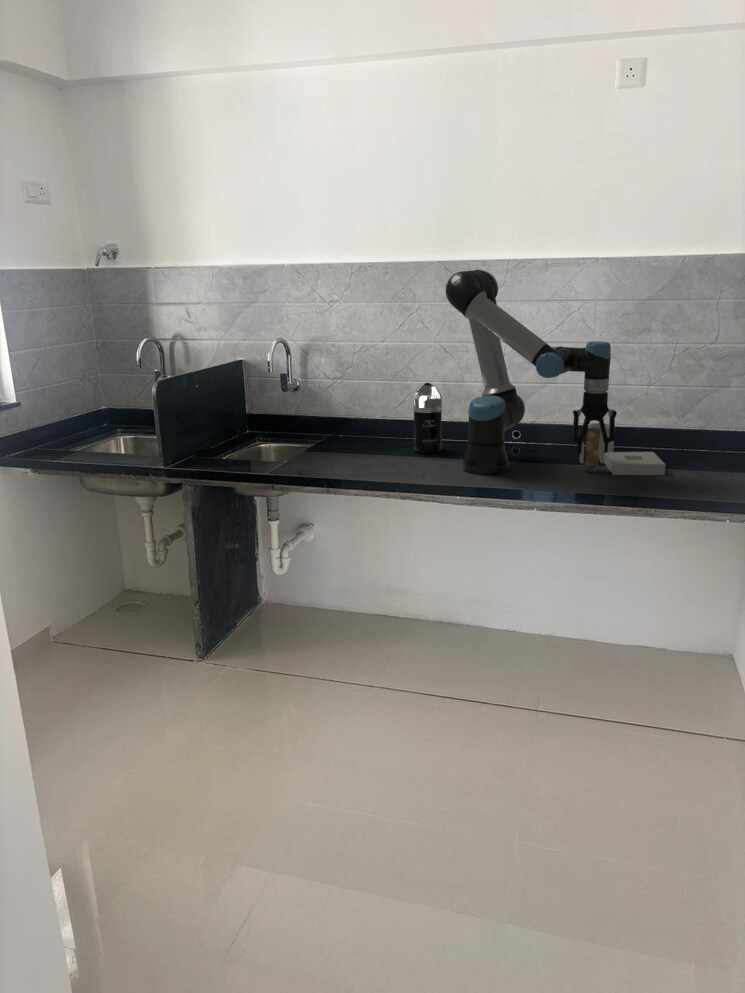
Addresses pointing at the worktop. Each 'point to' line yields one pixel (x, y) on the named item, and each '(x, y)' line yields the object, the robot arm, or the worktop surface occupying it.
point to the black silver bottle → (427, 419)
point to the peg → (592, 449)
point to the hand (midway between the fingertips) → (591, 462)
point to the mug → (610, 444)
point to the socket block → (634, 463)
